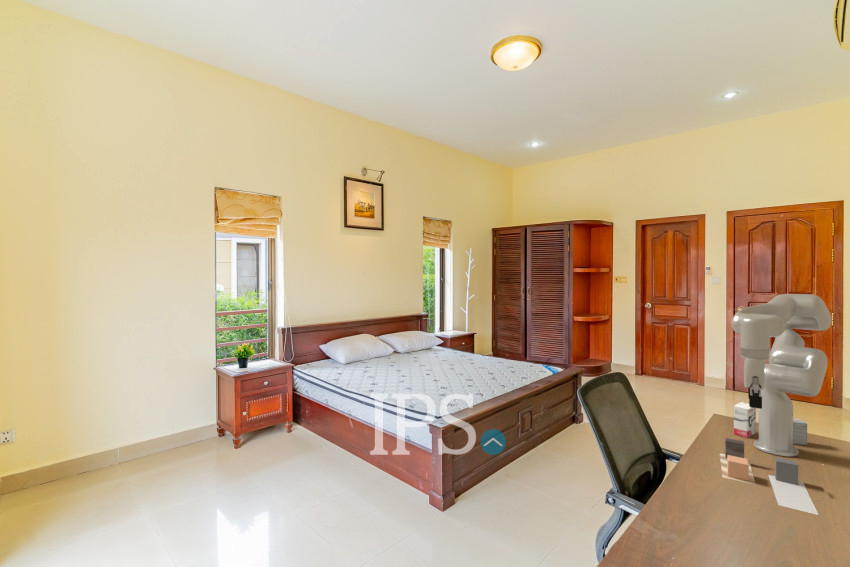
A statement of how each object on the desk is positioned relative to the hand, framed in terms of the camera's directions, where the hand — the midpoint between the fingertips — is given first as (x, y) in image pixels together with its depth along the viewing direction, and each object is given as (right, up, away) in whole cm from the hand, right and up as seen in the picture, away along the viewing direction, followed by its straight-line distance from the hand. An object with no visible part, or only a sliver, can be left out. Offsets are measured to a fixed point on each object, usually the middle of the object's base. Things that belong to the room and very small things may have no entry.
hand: (754, 403), depth 132 cm
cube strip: (-9, -21, -4) cm, 24 cm away
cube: (-13, -20, -9) cm, 25 cm away
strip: (-5, -22, -19) cm, 29 cm away
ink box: (+19, -21, +27) cm, 39 cm away
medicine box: (+30, -21, +19) cm, 41 cm away
